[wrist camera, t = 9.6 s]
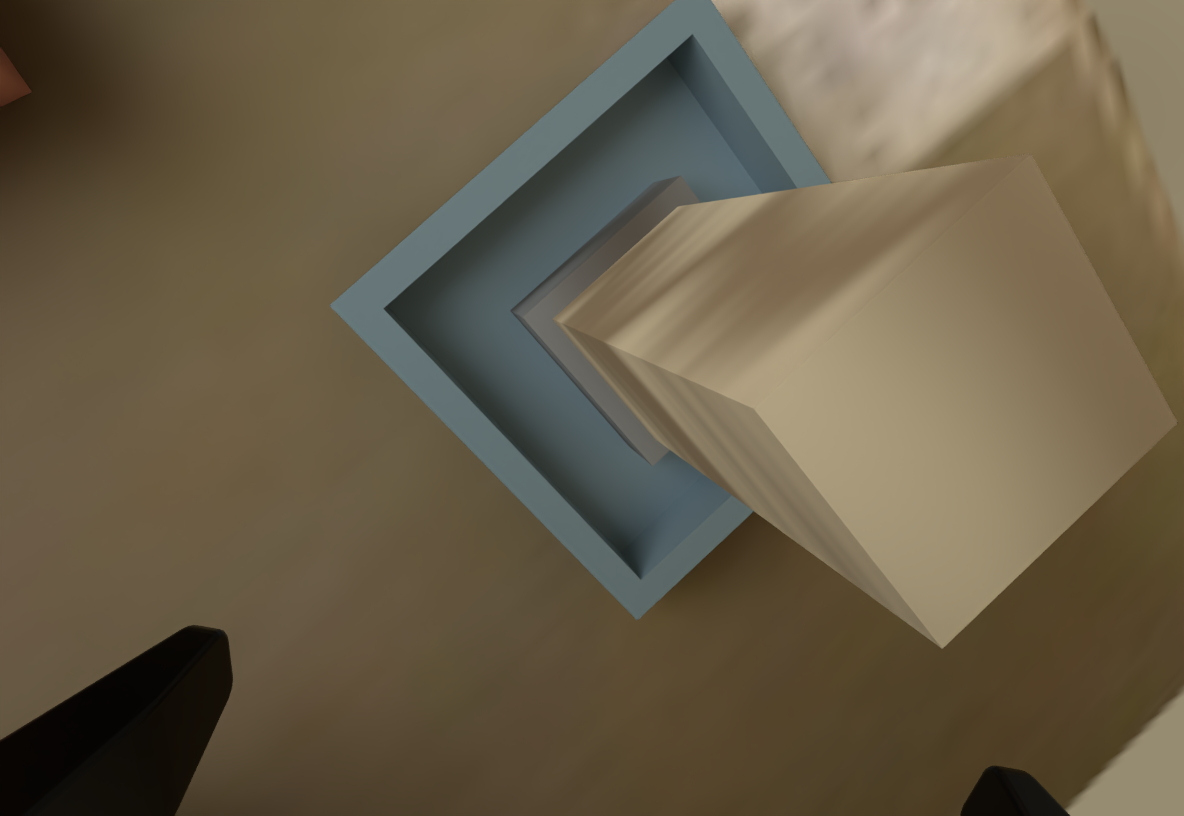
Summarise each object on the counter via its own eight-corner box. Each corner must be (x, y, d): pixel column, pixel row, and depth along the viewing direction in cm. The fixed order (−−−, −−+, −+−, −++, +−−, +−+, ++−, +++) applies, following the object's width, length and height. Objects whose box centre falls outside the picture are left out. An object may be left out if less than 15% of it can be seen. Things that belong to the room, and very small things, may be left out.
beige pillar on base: (629, 446, 21) (932, 703, 9) (510, 310, 19) (689, 405, 8) (760, 326, 21) (1221, 424, 9) (653, 182, 20) (1043, 81, 8)
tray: (611, 581, 22) (637, 620, 20) (337, 298, 19) (329, 305, 17) (879, 331, 23) (935, 340, 21) (660, 12, 19) (697, -20, 17)
